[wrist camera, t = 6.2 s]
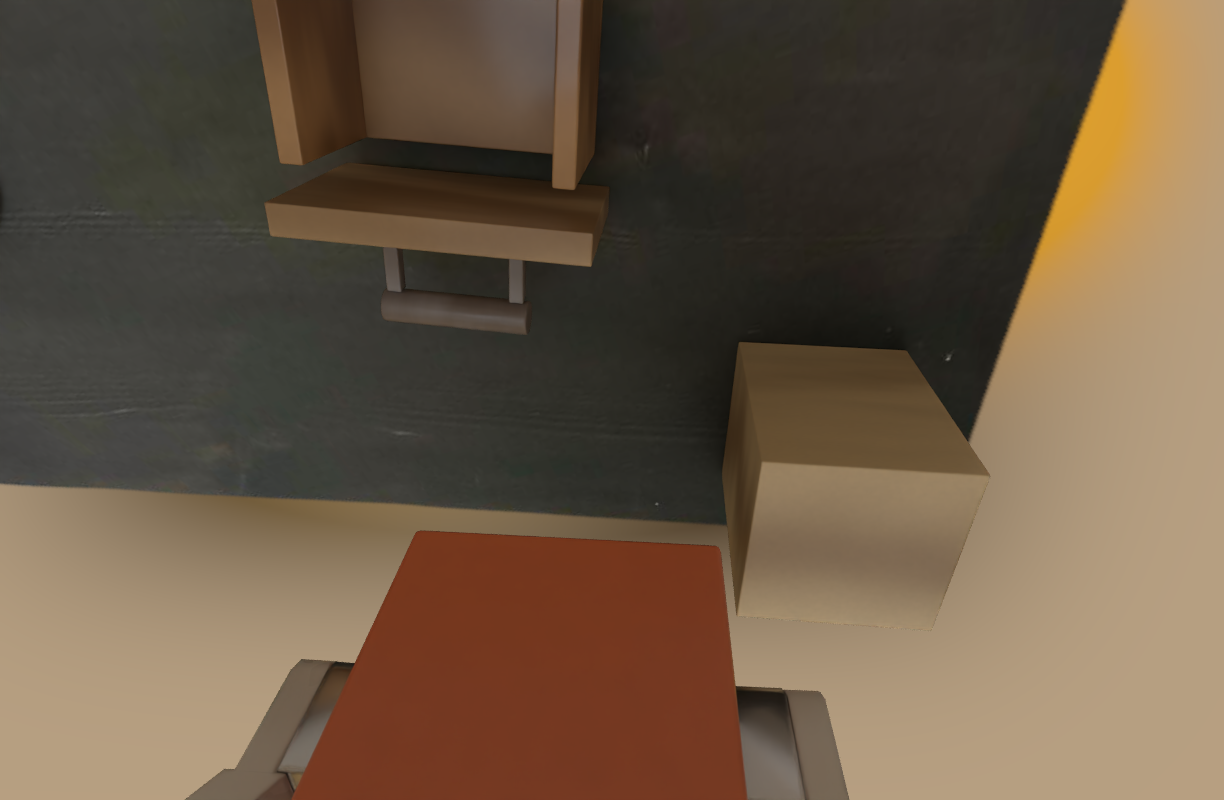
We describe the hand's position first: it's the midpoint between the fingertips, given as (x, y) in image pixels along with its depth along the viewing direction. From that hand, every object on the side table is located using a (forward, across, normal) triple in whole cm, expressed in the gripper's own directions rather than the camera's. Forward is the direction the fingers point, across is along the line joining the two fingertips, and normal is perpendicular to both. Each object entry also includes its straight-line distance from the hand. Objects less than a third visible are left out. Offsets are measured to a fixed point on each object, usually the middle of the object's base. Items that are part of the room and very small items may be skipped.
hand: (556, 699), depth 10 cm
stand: (+24, -10, +9) cm, 27 cm away
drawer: (+23, +6, -5) cm, 24 cm away
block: (+1, 0, 0) cm, 1 cm away
